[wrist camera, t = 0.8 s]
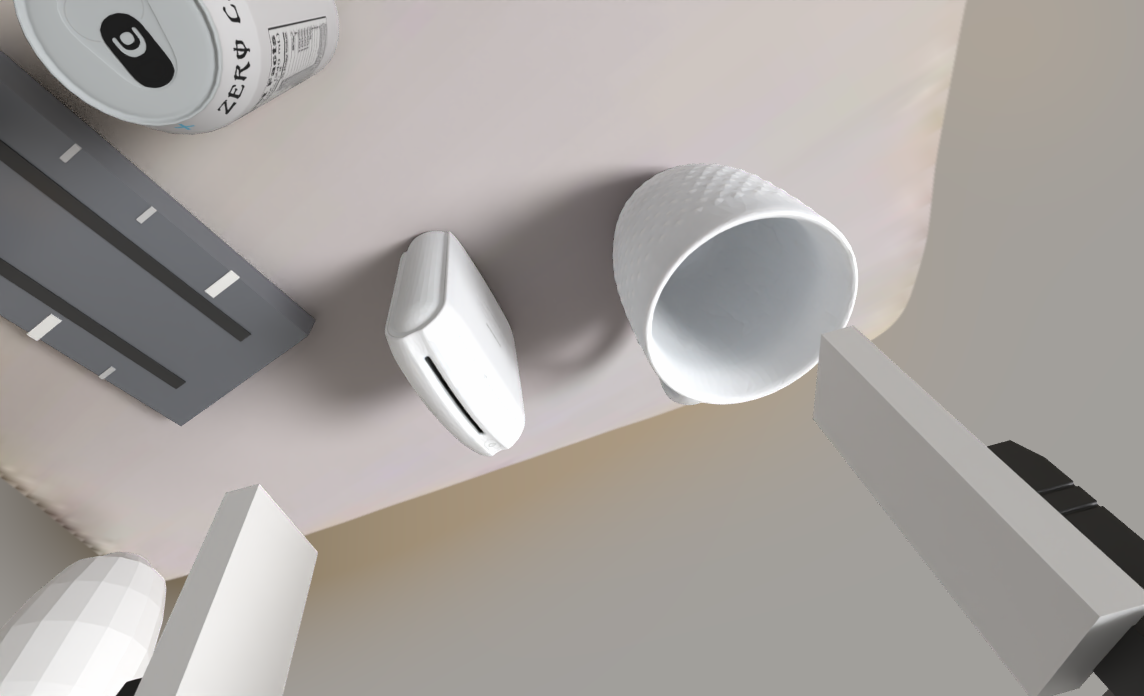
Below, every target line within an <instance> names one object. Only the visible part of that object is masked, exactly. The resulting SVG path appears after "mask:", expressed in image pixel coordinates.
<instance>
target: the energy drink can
mask: <svg viewBox="0 0 1144 696" xmlns="http://www.w3.org/2000/svg"><path fill="white" fill-rule="evenodd" d="M13 2H14V7H15V11H16V16H17V18H18V21H19V23H20V26H21V28H22V31H23V33H24V35H25V37H26V39H27V40H28V42H29V44H30V46H31V47H32V49H33V51H34V52H35V54H36V55H37V57H38V58H39V59H40V60H41V62H42V63H43V64H44V65H45V67H46V68H47V69H48V70H49V72H50V73H51V74H52V75H53V76H54V77H55V78H56V79H57V80H58V81H59V82H60V83H61V84H63V85H64V86H65V87H66V88H67V89H68V90H69V91H71V92H72V93H73V94H75V95H76V96H77V97H79V98H80V99H81V100H83V101H84V102H85V103H87V104H89V105H91V106H92V107H94V108H96V109H98V110H99V111H101V112H103V113H105V114H107V115H110V116H112V117H115V118H117V119H120V120H123V121H126V122H130V123H135V124H139V125H143V126H146V127H148V128H151V129H155V130H159V131H164V132H168V133H173V134H191V135H193V134H200V133H207V132H212V131H214V130H217V129H220V128H222V127H225V126H227V125H229V124H231V123H232V122H234V121H236V120H237V119H239V118H241V117H243V116H244V115H246V114H248V113H249V112H251V111H253V110H255V109H256V108H258V107H260V106H261V105H263V104H265V103H267V102H268V101H270V100H272V99H274V98H275V97H277V96H279V95H280V94H282V93H284V92H286V91H287V90H289V89H291V88H292V87H294V86H296V85H298V84H299V83H301V82H303V81H304V80H306V79H308V78H310V77H311V76H313V75H315V74H316V73H317V72H319V71H320V70H322V69H323V68H324V67H325V66H326V65H327V63H328V62H329V61H330V60H331V58H332V56H333V54H334V52H335V50H336V46H337V42H338V39H339V19H338V11H337V8H336V5H335V1H334V0H13Z"/></svg>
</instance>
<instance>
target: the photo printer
mask: <svg viewBox="0 0 1144 696" xmlns="http://www.w3.org/2000/svg"><path fill="white" fill-rule="evenodd" d="M385 336H386V338H387V341H388V344H389V346H390V349H391V352H392V355H393V357H394V358H395V360H396V362H397V364H398V366H399V367H400V369H401V371H402V372H403V374H404V375H405V377H406V378H407V380H408V381H409V383H410V384H411V386H412V387H413V389H414V390H415V392H416V393H417V394H418V396H419V397H420V398H421V400H422V401H423V402H424V404H425V405H426V406H427V408H428V409H429V410H430V411H431V412H432V413H433V415H434V416H435V417H436V418H437V419H438V420H439V422H440V423H441V424H442V425H443V426H444V427H445V428H446V429H447V430H448V431H449V432H450V433H451V434H452V435H453V436H454V437H455V438H456V439H458V440H459V441H460V442H461V443H462V444H464V445H465V446H466V447H468V448H469V449H471V450H473V451H474V452H476V453H479V454H481V455H484V456H493V455H494V454H496V453H497V452H499V451H501V450H504V449H509V448H510V447H511V446H513V444H514V443H515V442H516V441H517V440H518V438H519V437H520V435H521V433H522V431H523V429H524V425H525V412H524V405H523V397H522V390H521V383H520V375H519V368H518V361H517V354H516V348H515V341H514V337H513V333H512V331H511V328H510V325H509V323H508V321H507V319H506V317H505V316H504V314H503V312H502V310H501V308H500V306H499V305H498V303H497V301H496V299H495V298H494V296H493V294H492V292H491V291H490V289H489V287H488V286H487V284H486V282H485V281H484V279H483V277H482V276H481V274H480V273H479V271H478V269H477V268H476V266H475V265H474V263H473V262H472V260H471V258H470V257H469V255H468V254H467V252H466V251H465V249H464V248H463V246H462V245H461V244H460V242H459V241H458V240H457V238H456V237H455V236H454V235H453V234H452V233H451V232H449V231H448V232H447V233H445V232H442V231H430V232H426V233H423V234H421V235H419V236H418V237H416V238H415V239H414V240H413V241H412V242H411V244H410V246H409V248H408V250H407V252H404V253H403V254H402V256H401V259H400V263H399V268H398V273H397V278H396V282H395V287H394V291H393V296H392V300H391V304H390V309H389V313H388V318H387V322H386V326H385Z"/></svg>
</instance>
